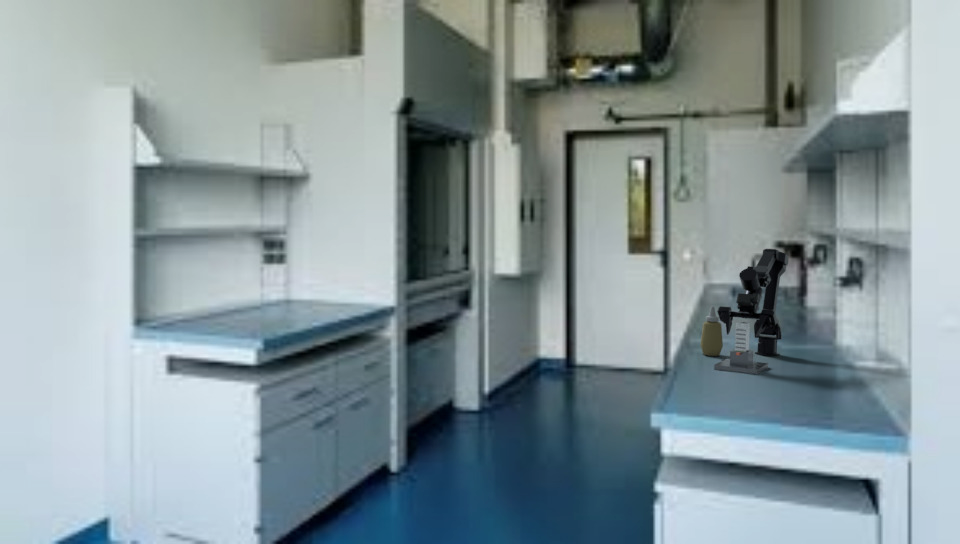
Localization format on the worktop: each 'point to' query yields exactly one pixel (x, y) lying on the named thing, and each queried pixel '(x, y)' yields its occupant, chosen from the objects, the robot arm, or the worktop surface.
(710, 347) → the squeeze bottle
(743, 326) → the block
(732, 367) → the stand
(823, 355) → the worktop surface
